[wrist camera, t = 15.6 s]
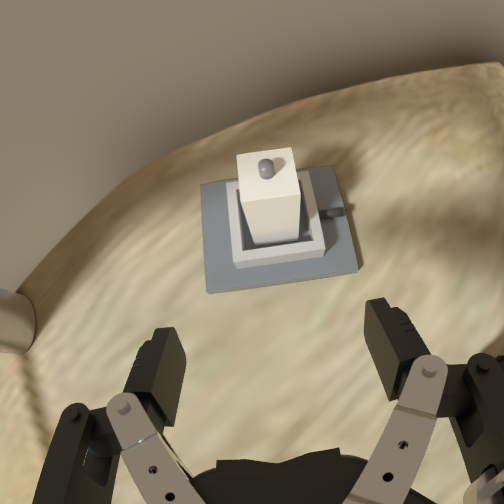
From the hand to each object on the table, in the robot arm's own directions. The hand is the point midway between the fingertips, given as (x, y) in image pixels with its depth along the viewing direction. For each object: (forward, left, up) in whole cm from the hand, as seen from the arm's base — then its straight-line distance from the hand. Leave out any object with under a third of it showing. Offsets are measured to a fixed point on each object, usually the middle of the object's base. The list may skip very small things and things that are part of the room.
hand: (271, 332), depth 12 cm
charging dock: (+1, +13, -19) cm, 23 cm away
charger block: (+1, +13, -18) cm, 22 cm away
